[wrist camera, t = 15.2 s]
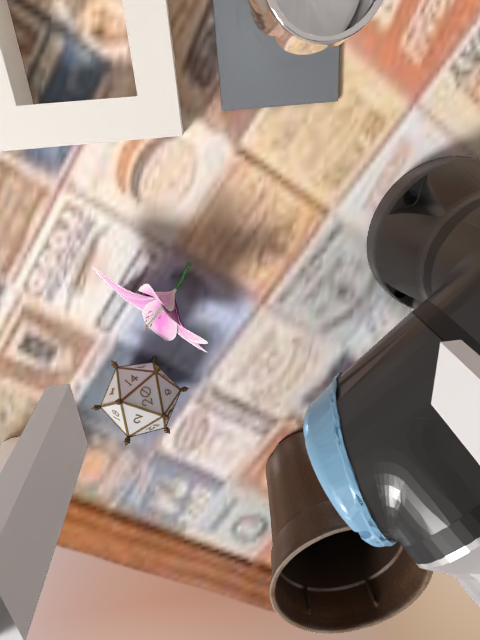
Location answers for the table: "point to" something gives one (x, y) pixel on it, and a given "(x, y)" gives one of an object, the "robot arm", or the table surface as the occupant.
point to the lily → (158, 310)
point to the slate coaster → (267, 70)
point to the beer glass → (300, 26)
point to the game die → (140, 398)
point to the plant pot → (328, 555)
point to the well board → (100, 114)
